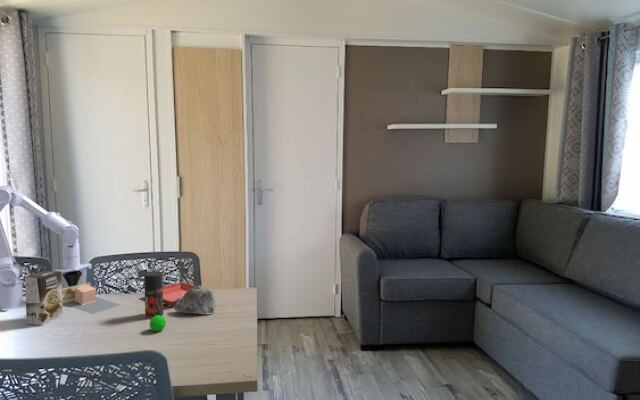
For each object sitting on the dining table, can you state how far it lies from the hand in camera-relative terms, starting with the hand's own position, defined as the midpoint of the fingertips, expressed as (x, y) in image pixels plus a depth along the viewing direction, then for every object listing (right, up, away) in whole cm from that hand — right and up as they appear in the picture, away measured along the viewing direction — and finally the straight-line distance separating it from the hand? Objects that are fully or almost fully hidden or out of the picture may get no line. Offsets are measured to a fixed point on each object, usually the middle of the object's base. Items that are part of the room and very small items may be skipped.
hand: (72, 290), depth 169 cm
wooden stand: (+3, -3, -1) cm, 4 cm away
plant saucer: (+39, -4, +4) cm, 40 cm away
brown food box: (+3, -6, -21) cm, 22 cm away
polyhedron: (+43, -7, -28) cm, 52 cm away
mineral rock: (+51, -6, -11) cm, 53 cm away
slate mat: (+8, -4, -5) cm, 10 cm away
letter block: (+7, -3, -4) cm, 8 cm away
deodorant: (+37, -6, -15) cm, 41 cm away
